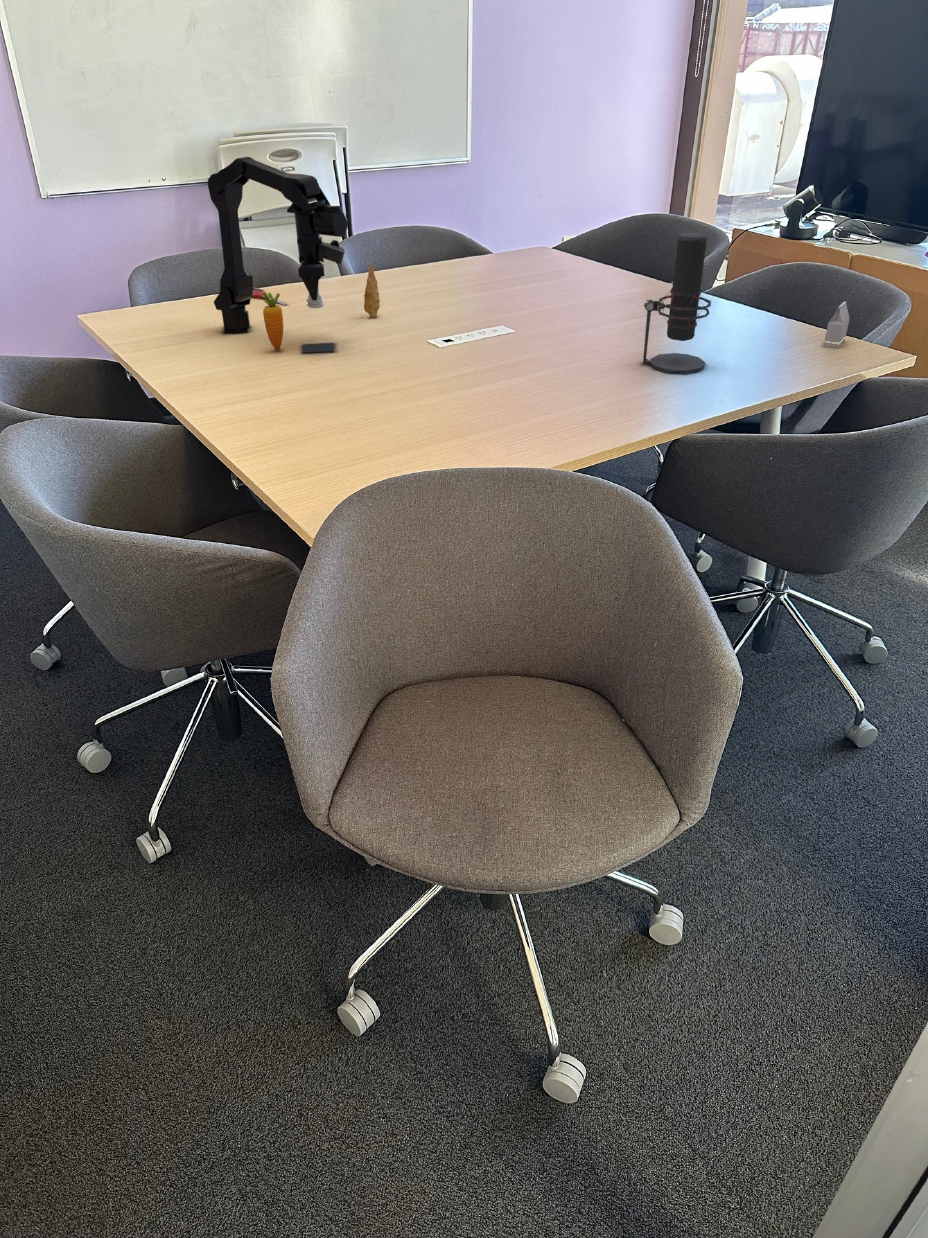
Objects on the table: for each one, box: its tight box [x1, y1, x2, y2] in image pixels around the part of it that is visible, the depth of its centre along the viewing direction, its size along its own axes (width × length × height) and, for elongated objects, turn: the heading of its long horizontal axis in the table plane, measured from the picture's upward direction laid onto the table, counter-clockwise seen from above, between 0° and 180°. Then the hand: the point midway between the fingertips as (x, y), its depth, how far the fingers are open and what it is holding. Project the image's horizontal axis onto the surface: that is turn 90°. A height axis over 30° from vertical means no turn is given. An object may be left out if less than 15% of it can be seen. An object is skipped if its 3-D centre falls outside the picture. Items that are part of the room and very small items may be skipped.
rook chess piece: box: [306, 283, 325, 309], centre depth 230 cm, size 4×4×8 cm
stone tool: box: [363, 262, 381, 319], centre depth 254 cm, size 5×2×15 cm, turn 141°
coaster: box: [302, 342, 335, 355], centre depth 234 cm, size 8×7×1 cm
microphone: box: [642, 232, 712, 375], centre depth 212 cm, size 14×13×30 cm
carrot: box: [262, 290, 284, 352], centre depth 229 cm, size 5×5×15 cm
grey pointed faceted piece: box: [823, 301, 851, 349], centre depth 230 cm, size 4×7×10 cm, turn 147°
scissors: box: [251, 287, 287, 306], centre depth 277 cm, size 8×21×2 cm, turn 58°
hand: (314, 298), depth 231 cm, fingers closed on rook chess piece, 3 cm apart
